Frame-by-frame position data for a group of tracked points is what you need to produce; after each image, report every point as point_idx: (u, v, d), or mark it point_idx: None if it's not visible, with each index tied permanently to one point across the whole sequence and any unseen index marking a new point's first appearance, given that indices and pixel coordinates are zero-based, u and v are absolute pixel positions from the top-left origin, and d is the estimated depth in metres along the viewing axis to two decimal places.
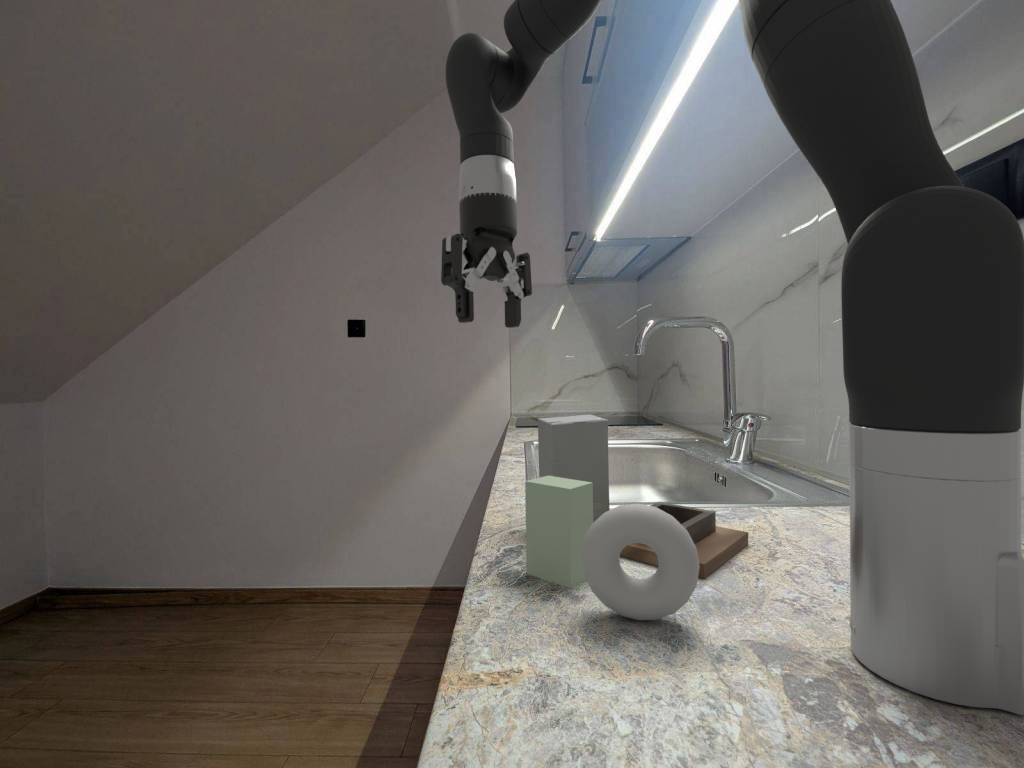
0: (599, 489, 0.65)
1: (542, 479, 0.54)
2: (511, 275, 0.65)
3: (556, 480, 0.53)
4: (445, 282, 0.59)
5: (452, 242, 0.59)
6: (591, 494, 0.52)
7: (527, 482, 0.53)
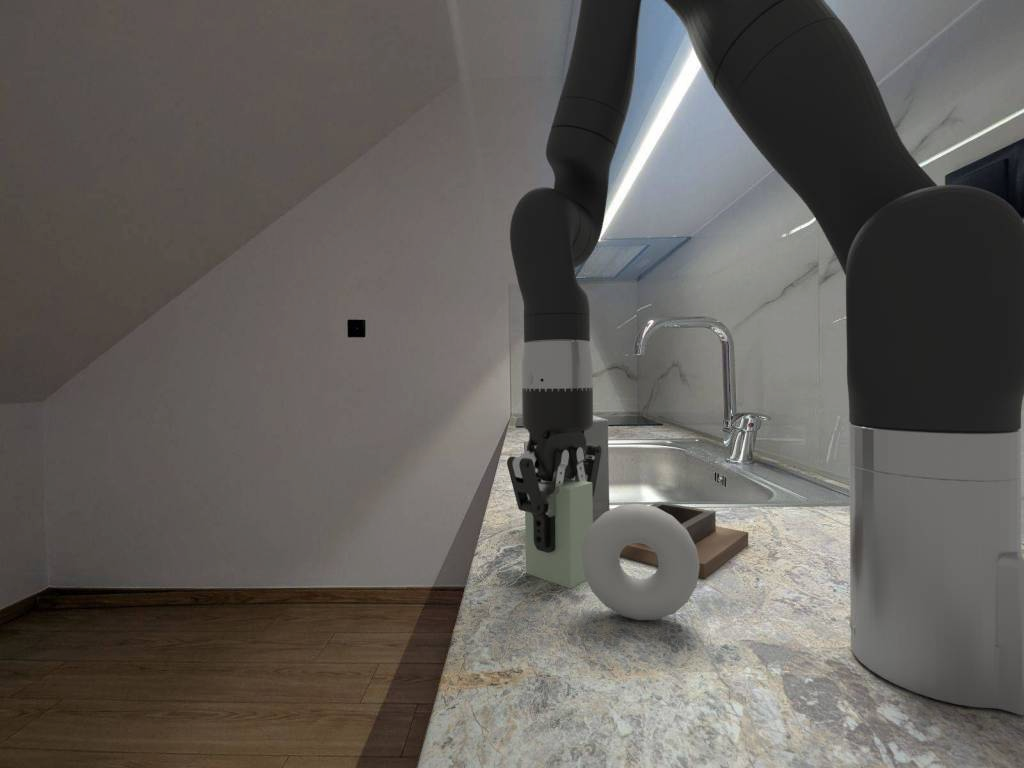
0: (599, 489, 0.65)
1: None
2: (578, 477, 0.52)
3: None
4: (523, 509, 0.49)
5: (523, 472, 0.47)
6: (590, 494, 0.52)
7: None
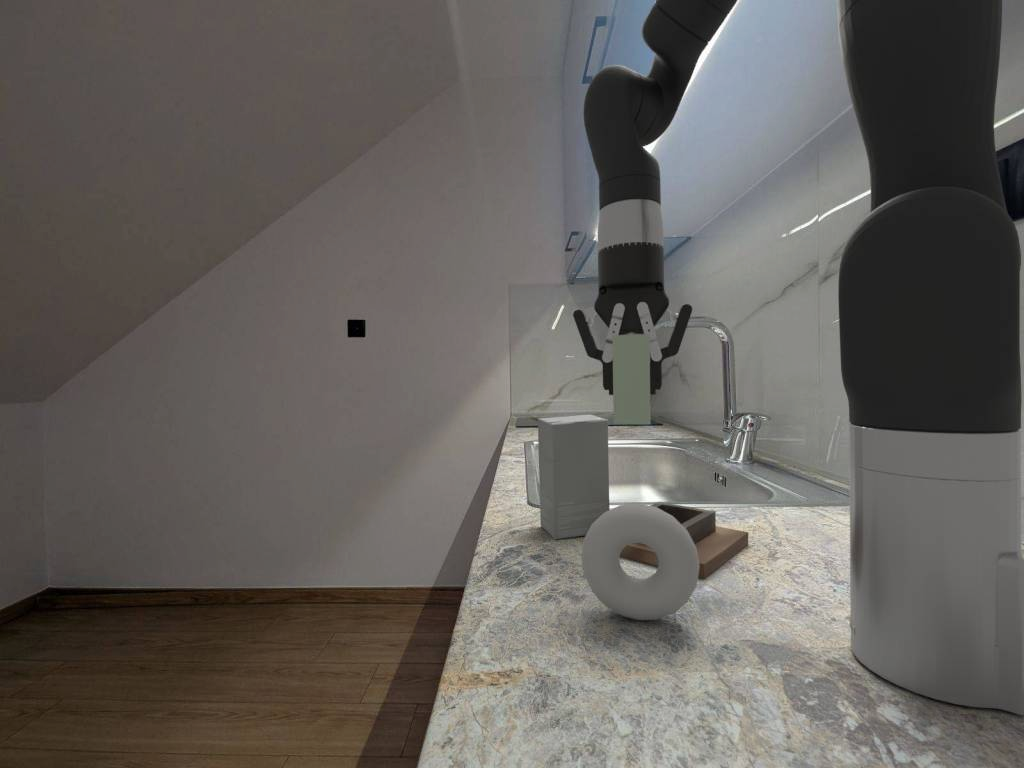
0: (599, 489, 0.65)
1: None
2: (644, 331, 0.55)
3: None
4: None
5: (575, 321, 0.58)
6: (646, 344, 0.54)
7: None
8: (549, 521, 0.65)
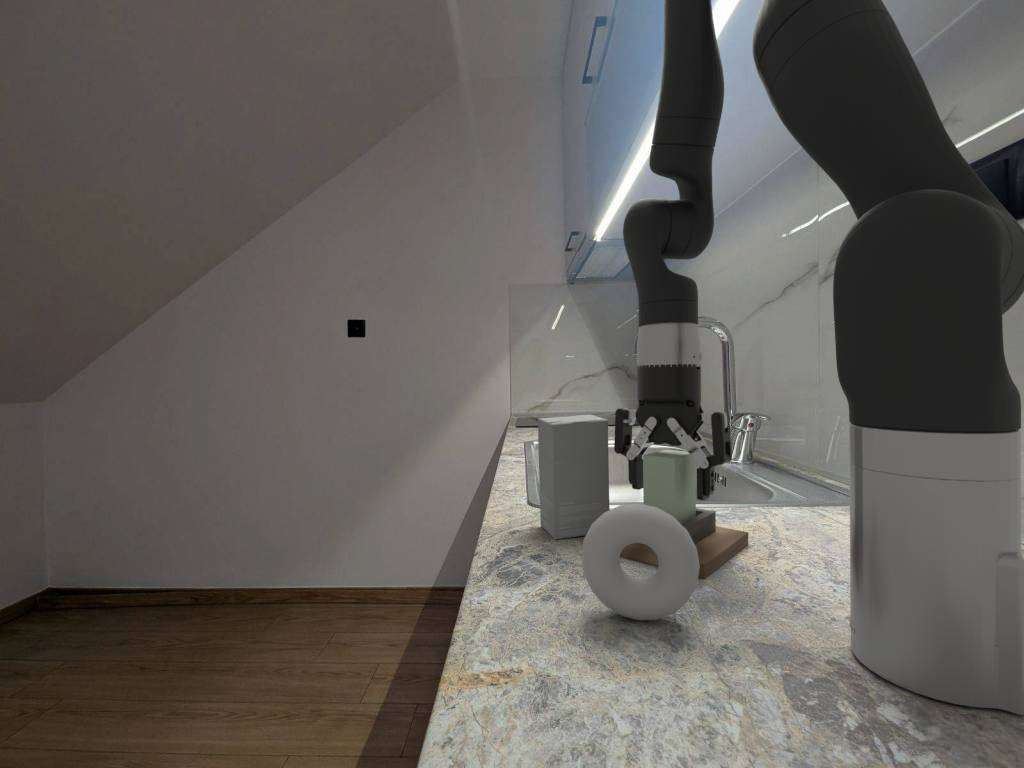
0: (599, 489, 0.65)
1: (675, 451, 0.62)
2: (682, 443, 0.58)
3: (675, 453, 0.61)
4: None
5: None
6: (671, 468, 0.57)
7: (663, 450, 0.64)
8: (549, 521, 0.65)
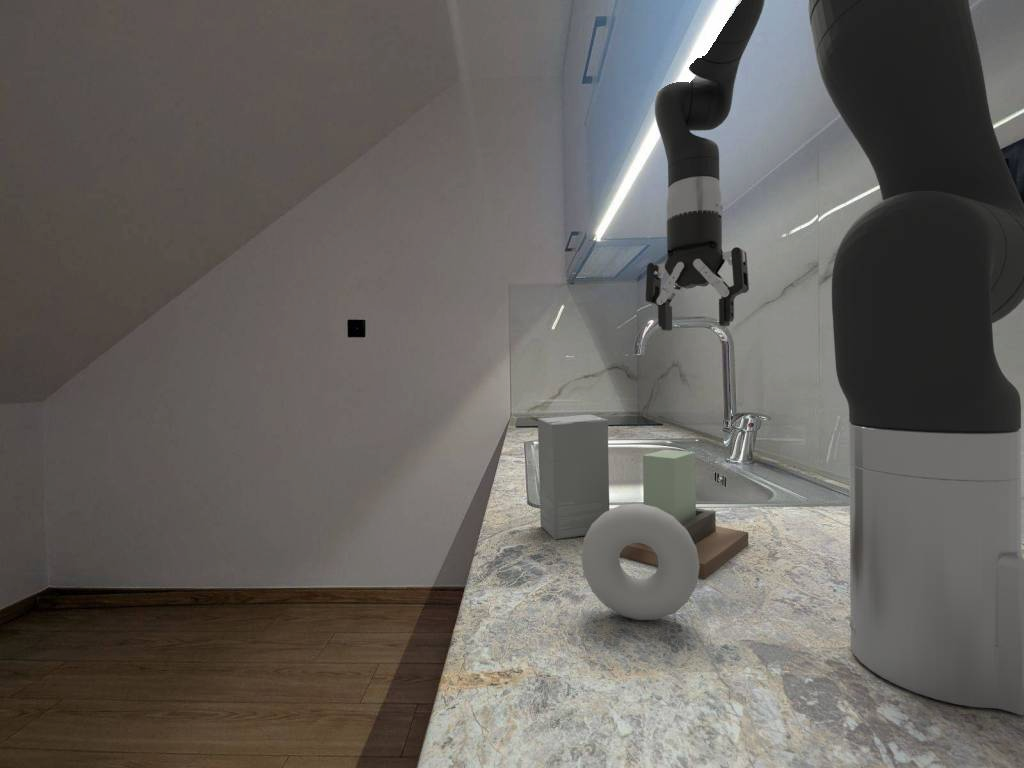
0: (599, 489, 0.65)
1: (675, 451, 0.62)
2: (706, 279, 0.68)
3: (675, 453, 0.61)
4: None
5: None
6: (671, 468, 0.57)
7: (663, 450, 0.64)
8: (549, 521, 0.65)
